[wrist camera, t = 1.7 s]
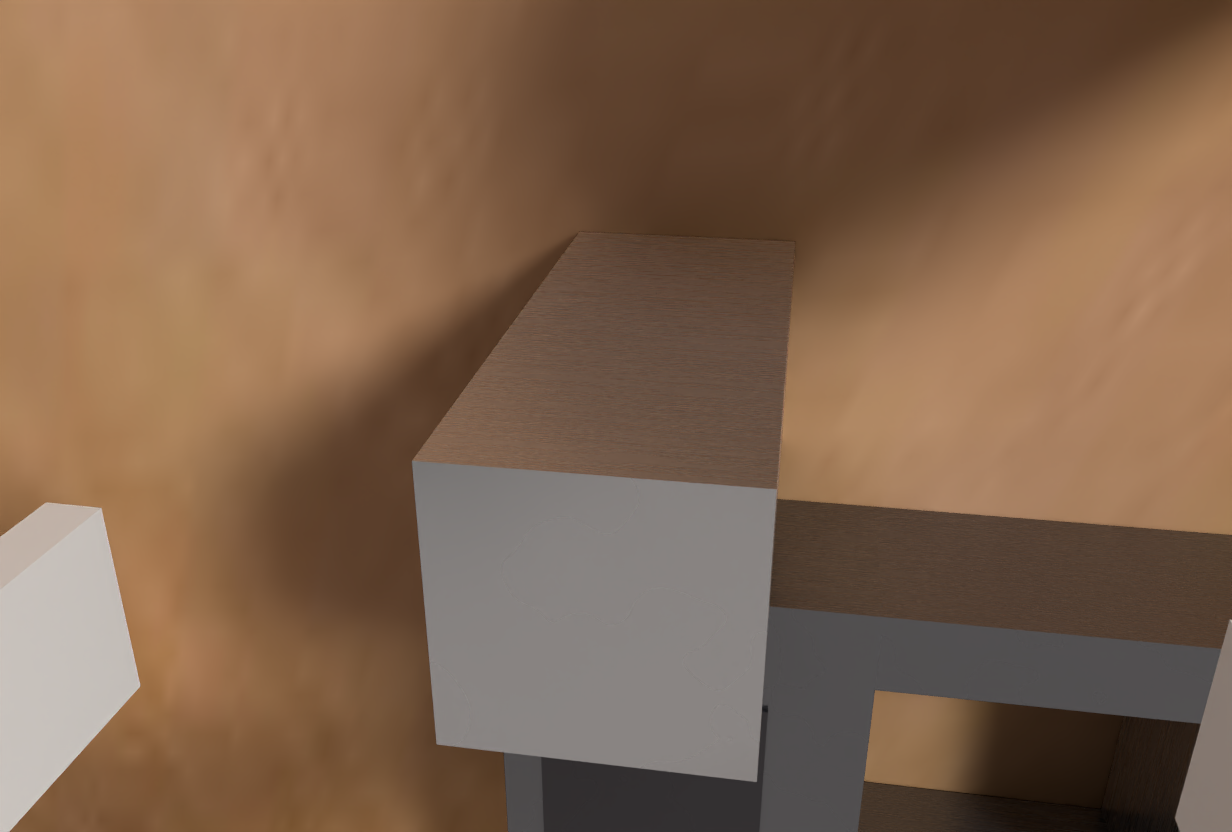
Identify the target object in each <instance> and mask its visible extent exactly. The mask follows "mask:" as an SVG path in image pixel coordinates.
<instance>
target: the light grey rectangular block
mask: <svg viewBox="0 0 1232 832" xmlns="http://www.w3.org/2000/svg"><path fill="white" fill-rule="evenodd" d="M794 254H795V241H778V240H756V239H733V238H711V237H689V236H666V235H644V234H621V233H599V232H579V233H578V234H577V236H576V237H575V238H574V240H573V241H572V242H571V244H570V245H569V247H568V248H567V249H566V251H565V252H564V253H563V255H562V256H561V257H560V259H559V260H558V262H557V263H556V264H555V266H554V267H553V268H552V270H551V271H550V273H549V274H548V275H547V277H546V278H545V279H544V281H543V282H542V283H541V285H540V286H539V288H538V289H537V290H536V292H535V293H534V294H533V296H532V297H531V299H530V300H529V301H528V303H527V304H526V305H525V307H524V308H523V309H522V311H521V312H520V314H519V315H518V316H517V318H516V319H515V320H514V322H513V323H512V325H511V326H510V327H509V329H508V330H507V331H506V333H505V334H504V335H503V337H502V338H501V340H500V341H499V342H498V344H497V345H496V346H495V348H494V349H493V351H492V352H491V353H490V355H489V356H488V357H487V359H486V360H485V361H484V363H483V364H482V366H481V367H480V368H479V370H478V371H477V372H476V374H475V375H474V377H473V378H472V379H471V381H470V382H469V383H468V385H467V386H466V387H465V389H464V390H463V392H462V393H461V394H460V396H459V397H458V398H457V400H456V401H455V403H454V404H453V405H452V407H451V408H450V409H449V411H448V412H447V413H446V415H445V416H444V418H443V419H442V420H441V422H440V423H439V424H438V426H437V427H436V429H435V430H434V431H433V433H432V434H431V435H430V437H429V438H428V439H427V441H426V442H425V444H424V445H423V446H422V448H421V449H420V450H419V452H418V453H417V455H416V456H415V457H414V459H413V460H412V468H413V480H414V491H415V502H416V514H417V525H418V537H419V548H420V560H421V571H422V583H423V594H424V606H425V617H426V628H427V640H428V651H429V663H430V674H431V686H432V697H433V709H434V720H435V731H436V743H437V745H446V746H454V747H463V748H471V749H480V750H488V751H497V752H505V753H514V754H522V755H531V756H539V757H548V758H556V759H565V760H573V761H582V762H590V763H599V764H607V765H616V766H624V767H633V768H641V769H650V770H658V771H667V772H675V773H684V774H692V775H701V776H709V777H718V778H726V779H735V780H744V781H752V782H757V772H758V758H759V744H760V731H761V717H762V703H763V689H764V676H765V662H766V648H767V634H768V621H769V607H770V593H771V579H772V566H773V552H774V538H775V524H776V511H777V497H778V483H779V469H780V456H781V442H782V428H783V413H784V399H785V384H786V370H787V355H788V341H789V326H790V312H791V297H792V283H793V268H794Z"/></svg>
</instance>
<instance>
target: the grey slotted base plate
mask: <svg viewBox="0 0 1232 832" xmlns="http://www.w3.org/2000/svg"><path fill="white" fill-rule="evenodd" d="M1229 620H1232V535H1222V534H1209V533H1197V532H1184V531H1171V530H1159V529H1146V528H1134V527H1121V526H1108V525H1096V524H1083V523H1071V522H1058V521H1046V520H1033V519H1020V518H1008V517H995V516H983V515H970V514H957V513H945V512H932V511H920V510H907V509H895V508H882V507H869V506H857V505H844V504H832V503H819V502H806V501H794V500H781V499H777V511H776V524H775V538H774V552H773V566H772V579H771V593H770V607H769V621H768V634H767V648H766V662H765V676H764V689H763V703H762V717H761V731H760V744H759V758H758V772H757V782H752V781H744V780H735V779H726V778H718V777H709V776H701V775H692V774H684V773H675V772H667V771H658V770H650V769H641V768H633V767H624V766H616V765H607V764H599V763H590V762H582V761H573V760H565V759H556V758H548V757H539V756H531V755H522V754H514V753H505V752H504V767H505V785H506V803H507V821H508V832H1180V830H1179V828H1178V825H1177V822H1176V820H1175V816H1176V812H1177V808H1178V805H1179V801H1180V798H1181V794H1182V790H1183V787H1184V783H1185V779H1186V776H1187V772H1188V769H1189V765H1190V761H1191V758H1192V754H1193V750H1194V747H1195V743H1196V740H1197V736H1198V732H1199V729H1200V725H1201V721H1202V718H1203V714H1204V711H1205V707H1206V703H1207V700H1208V696H1209V692H1210V689H1211V685H1212V682H1213V678H1214V674H1215V671H1216V667H1217V663H1218V660H1219V656H1220V653H1221V649H1222V645H1223V642H1224V638H1225V634H1226V631H1227V627H1228V624H1229ZM875 690H880V691H890V692H900V693H909V694H919V695H929V696H938V697H948V698H958V699H967V700H977V701H987V702H996V703H1006V704H1015V705H1025V706H1035V707H1044V708H1054V709H1064V710H1073V711H1083V712H1093V713H1102V714H1112V715H1122V716H1124V717H1123V721H1122V725H1121V729H1120V733H1119V738H1118V742H1117V746H1116V750H1115V754H1114V758H1113V762H1112V767H1111V771H1110V775H1109V779H1108V783H1107V787H1106V792H1105V796H1104V800H1103V804H1102V808H1101V809H1094V808H1085V807H1077V806H1068V805H1059V804H1051V803H1042V802H1033V801H1025V800H1016V799H1008V798H999V797H990V796H982V795H973V794H965V793H956V792H947V791H939V790H930V789H921V788H913V787H904V786H896V785H887V784H878V783H870V782H864V775H865V767H866V759H867V750H868V742H869V734H870V726H871V717H872V709H873V701H874V692H875Z"/></svg>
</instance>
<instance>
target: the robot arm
mask: <svg viewBox="0 0 1232 832" xmlns="http://www.w3.org/2000/svg"><path fill="white" fill-rule="evenodd" d="M139 687H140V682H139V677H138V673H137V668H136V664H135V659H134V655H133V650H132V646H131V641H130V636H129V632H128V627H127V623H126V618H125V614H124V609H123V605H122V600H121V596H120V591H119V587H118V582H117V577H116V573H115V568H114V564H113V559H112V555H111V550H110V546H109V541H108V537H107V532H106V528H105V523H104V518H103V514H102V509H101V508H97V507H87V506H77V505H67V504H57V503H45V504H43V505H42V506H41V507H39V508H38V509H37V510H35V511H34V512H33V513H31V514H30V515H29V516H27V517H26V518H25V519H23V520H22V521H21V522H19V523H18V524H17V525H15V526H14V527H13V528H11V529H10V530H9V531H7V532H6V533H5V534H3V535H2V536H1V537H0V832H9V831H10V830H11V829H12V828H13V827H14V826H15V825H16V824H17V823H18V821H19V820H20V819H21V818H22V817H23V816H24V815H25V814H26V813H27V811H28V810H29V809H30V808H31V807H32V806H33V805H34V804H35V803H36V801H37V800H38V799H39V798H40V797H41V796H42V795H43V794H44V793H45V792H46V790H47V789H48V788H49V787H50V786H51V785H52V784H53V783H54V782H55V780H56V779H57V778H58V777H59V776H60V775H61V774H62V773H63V772H64V770H65V769H66V768H67V767H68V766H69V765H70V764H71V763H72V762H73V760H74V759H75V758H76V757H77V756H78V755H79V754H80V753H81V752H82V750H83V749H84V748H85V747H86V746H87V745H88V744H89V743H90V742H91V740H92V739H93V738H94V737H95V736H96V735H97V734H98V733H99V732H100V730H101V729H102V728H103V727H104V726H105V725H106V724H107V723H108V722H109V720H110V719H111V718H112V717H113V716H114V715H115V714H116V713H117V712H118V710H119V709H120V708H121V707H122V706H123V705H124V704H125V703H126V702H127V701H128V699H129V698H130V697H131V696H132V695H133V694H134V693H135V692H136V691H137V689H138V688H139ZM1175 820H1176V822H1177V825H1178V828H1179V830H1180V832H1232V620H1229V624H1228V627H1227V631H1226V634H1225V638H1224V642H1223V645H1222V649H1221V653H1220V656H1219V660H1218V663H1217V667H1216V671H1215V674H1214V678H1213V682H1212V685H1211V689H1210V692H1209V696H1208V700H1207V703H1206V707H1205V711H1204V714H1203V718H1202V721H1201V725H1200V729H1199V732H1198V736H1197V740H1196V743H1195V747H1194V750H1193V754H1192V758H1191V761H1190V765H1189V769H1188V772H1187V776H1186V779H1185V783H1184V787H1183V790H1182V794H1181V798H1180V801H1179V805H1178V808H1177V812H1176V816H1175Z"/></svg>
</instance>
